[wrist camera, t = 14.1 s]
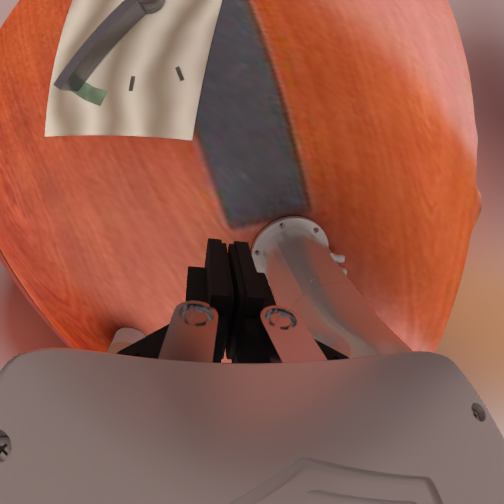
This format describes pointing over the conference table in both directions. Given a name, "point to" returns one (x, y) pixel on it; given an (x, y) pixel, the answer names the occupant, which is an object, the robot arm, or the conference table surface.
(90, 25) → the dial plate
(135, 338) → the coffee cup
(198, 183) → the conference table surface
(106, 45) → the pointer lever
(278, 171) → the conference table surface
